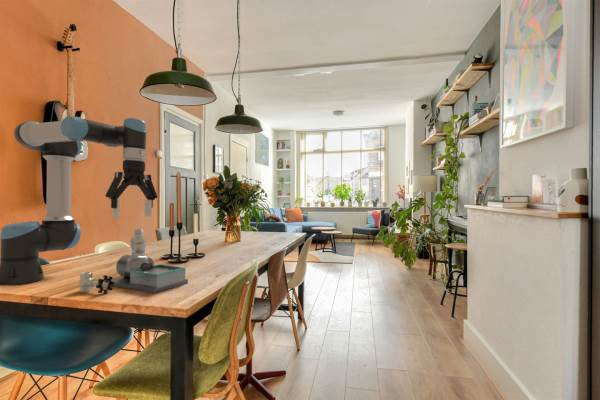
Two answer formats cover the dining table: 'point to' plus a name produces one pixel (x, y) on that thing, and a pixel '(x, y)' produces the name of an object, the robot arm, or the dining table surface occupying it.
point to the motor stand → (147, 274)
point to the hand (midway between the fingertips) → (132, 217)
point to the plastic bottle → (138, 243)
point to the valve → (94, 283)
